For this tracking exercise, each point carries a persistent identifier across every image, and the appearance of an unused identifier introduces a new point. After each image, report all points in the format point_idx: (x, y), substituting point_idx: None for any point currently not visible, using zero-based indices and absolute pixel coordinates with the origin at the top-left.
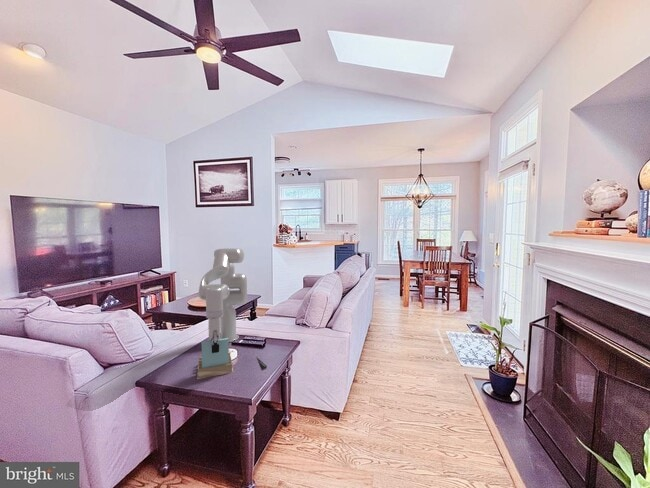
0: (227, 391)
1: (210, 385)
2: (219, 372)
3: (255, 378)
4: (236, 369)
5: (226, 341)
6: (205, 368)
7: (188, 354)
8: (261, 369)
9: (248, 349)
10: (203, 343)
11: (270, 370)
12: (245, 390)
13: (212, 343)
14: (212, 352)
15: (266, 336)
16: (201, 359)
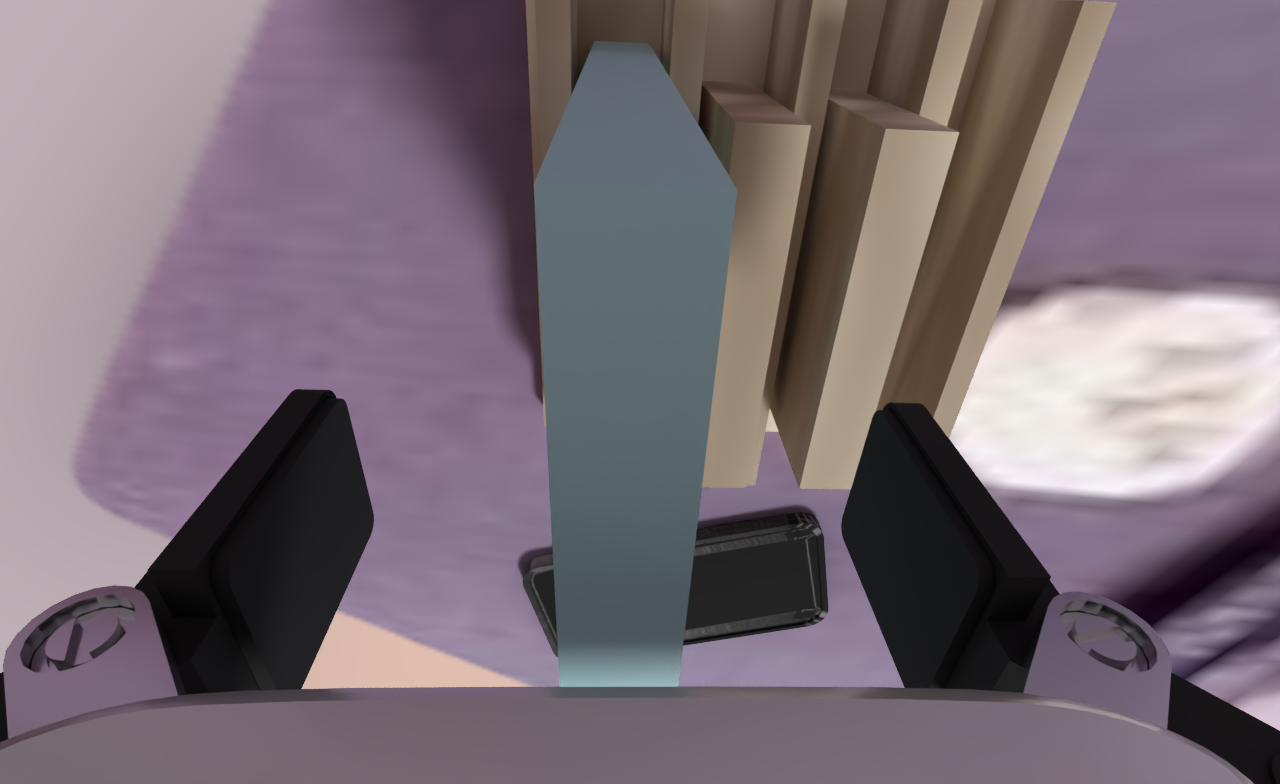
0: (185, 325)
1: (363, 148)
2: None
3: (402, 562)
4: None
5: None
6: (539, 119)
7: None
8: (542, 621)
9: (1059, 585)
10: (545, 263)
11: (510, 662)
12: (189, 471)
13: (15, 664)
14: (299, 407)
15: None
16: (1042, 53)
